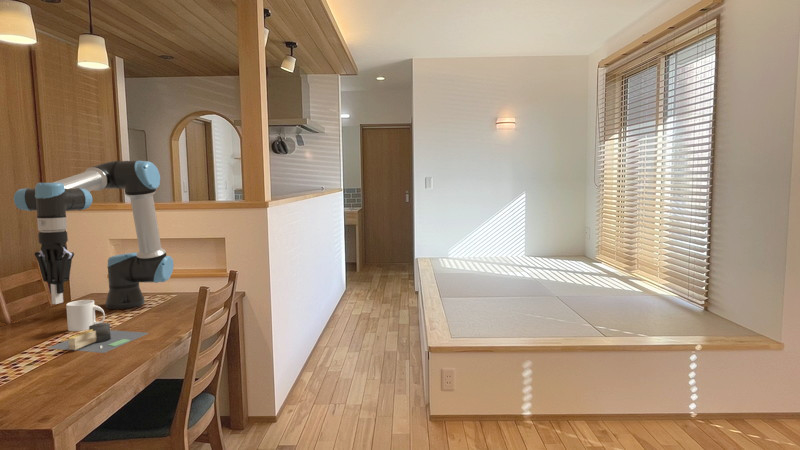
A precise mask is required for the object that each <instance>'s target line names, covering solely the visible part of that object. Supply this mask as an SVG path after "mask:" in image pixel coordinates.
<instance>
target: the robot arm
mask: <svg viewBox="0 0 800 450" xmlns="http://www.w3.org/2000/svg"><path fill="white" fill-rule="evenodd" d="M160 182H161V174H160V171H159V169H158V167H157V166H156V165H155V164H154V163H153V162H151V161H148V160H112V161H108V162H107V161H106V162H104V163H101V164H98V165H94V166H91V167H88V168H86V169H85V170H84V171H83V172H80V173H78V174H75V175H71V176H69V177H65V178H62V179H59V180H57V181H53V182H38V183H36V184H35V187H34V188H33V187H32V188H29V187H25V188H20V189H18V190H16V192H14V195H13V203H14V206H15V207H16V208H17V209H19V210H20V211H29V212H33V211H34V212H36V214H37V215H36V219H37V230H38V231H39V232H38V233H37V237H38V243H39V244H40V245H41V247H40V250H39V251H36V252H34V256H35V258H36V259H37V264H38V266H39V269H40V270H39V271H40V274H41V277H42V280H43V282H46V283H48V285H49V293H50V295H51V305H57V304H63V303H64V292H65V289H64V288H65V287H64V283H65V282H68V281H70V275H71V267H72V262H73V258H74V256H75V252H72V251H71V252H70V251H69V250H68V248H67V245H66V243H67V242H68V241H69V239H68V238H69V237H68V231H66V230H67V229H68V225H67V212H71V211H82V210H87V209H89V208H90V207H91V206H92V203H93V196H92V193H91V192H92V191H102V190H110V189H116V190H117V189H119V190H120V189H121V190H123V191H124V195H125V196H126V197H129V199H130V205H131V211H132V216H133V222H134V223H133V224H134V226H135V227H134V228H135V233H136V239H137V244H138V252H127V253H121V254H120V253H119V254H116V255H112V256H110V257H108V259H107V275H108V287H109V288H108V293H107V298H106V300H105V309H107V310H125V309H133V308H137V307H139V306H143V305H144V304H145V297H144V296H143V292H142V290H141V288H140V283H155V284H156V283H157V284H158V283H165V282H167V281H168V280H169V279H170V278H171V276H172V274H173V271H174V265H175V264H174V258H172V256H170V255H167V251H166V249H165V248H162V243H161V238H160V232H159V226H158V225H159V224H158V220H157V213H156V206H155V201H154V194H155V193H156V192H157V189H158V188H159V186H160V184H161V183H160Z"/></svg>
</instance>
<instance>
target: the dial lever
mask: <svg viewBox="0 0 800 450" xmlns="http://www.w3.org/2000/svg"><path fill="white" fill-rule="evenodd" d="M110 330H111V324H110V323H109V322H103V323H99V324H94V325H91V326H89V329H88V330H84V331H81V332H80V333H77V334H75V335H72V336H70V337H67V340H69V349H74V350H76V349H78V348H81V347H83V346H86V345H88V344H91V343H100V342H105V341H108V340H110V339H111V334H110ZM74 350H73V351H74Z"/></svg>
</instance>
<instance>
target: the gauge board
mask: <svg viewBox="0 0 800 450" xmlns="http://www.w3.org/2000/svg"><path fill="white" fill-rule="evenodd" d="M110 334H111V339H110V340H108V341H105V342H100V343H91V344H88V345H86V346H83V347H81V348H78V349H76V350H74V349H69V340H68V339H67V340H65V341H62V342H59V343H56V344H53V345H52V346H49V347H47V349H54V350H63V351H64V350H65V351H66V350H67V351H74V352H75V351H77V352H86V353H87V352H89V353H101V354H106V353H107V352H109V351H112V350H114V349H117V348H119V347H122V346H124V345H126V344H128V343H130V342H133V341H135V340H137V339H139V338H141V337H144V336H146V335H148V334H149V332H144V331H143V332H142V331H130V330H129V331H128V330H114V329H113V330H112V329H110Z"/></svg>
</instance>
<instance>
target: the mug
mask: <svg viewBox="0 0 800 450" xmlns="http://www.w3.org/2000/svg"><path fill="white" fill-rule="evenodd" d="M65 305H66V306H65V309H66V319H67V320H66V321H67V331H68V332H85V331H88V330H89V326H91V325H94V324H99V323H104V321H105V319H106V318H105V317H106V314H105V311H104V309H103V308H102V307H101V306H99V305H96V304H95V300H93V299H80V300H74V301H70V302H67V303H66V304H65ZM96 311H99V312H101V314H103V317H102V319H100V320H99V321H96Z"/></svg>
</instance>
